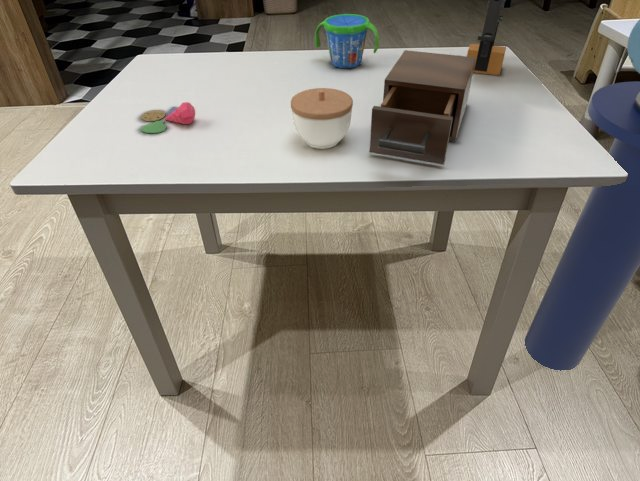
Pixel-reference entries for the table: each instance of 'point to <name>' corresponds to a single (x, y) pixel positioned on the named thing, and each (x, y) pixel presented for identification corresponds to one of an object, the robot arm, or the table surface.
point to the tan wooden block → (495, 58)
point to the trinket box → (322, 116)
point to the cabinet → (435, 78)
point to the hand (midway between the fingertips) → (483, 60)
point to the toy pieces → (168, 117)
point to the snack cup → (346, 38)
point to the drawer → (413, 124)
